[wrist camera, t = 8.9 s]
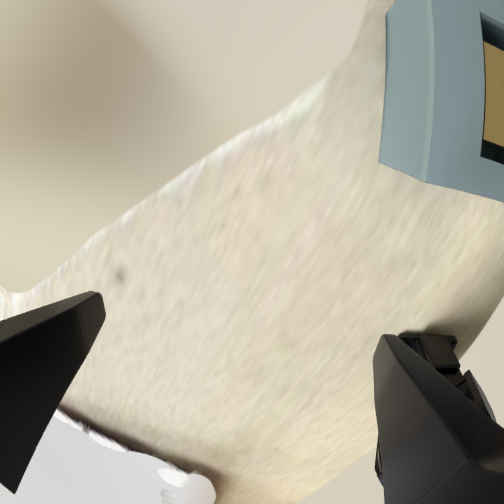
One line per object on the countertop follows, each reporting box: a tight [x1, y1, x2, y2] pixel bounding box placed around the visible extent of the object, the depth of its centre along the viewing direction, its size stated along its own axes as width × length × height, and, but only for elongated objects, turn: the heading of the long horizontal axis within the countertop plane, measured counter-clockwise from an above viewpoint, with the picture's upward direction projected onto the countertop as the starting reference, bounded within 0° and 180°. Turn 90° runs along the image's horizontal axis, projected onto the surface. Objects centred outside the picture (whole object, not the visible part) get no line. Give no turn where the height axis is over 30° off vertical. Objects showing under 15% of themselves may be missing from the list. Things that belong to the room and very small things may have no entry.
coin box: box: [379, 0, 504, 202], centre depth 12 cm, size 11×10×8 cm
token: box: [482, 41, 504, 149], centre depth 12 cm, size 6×2×6 cm, turn 177°
